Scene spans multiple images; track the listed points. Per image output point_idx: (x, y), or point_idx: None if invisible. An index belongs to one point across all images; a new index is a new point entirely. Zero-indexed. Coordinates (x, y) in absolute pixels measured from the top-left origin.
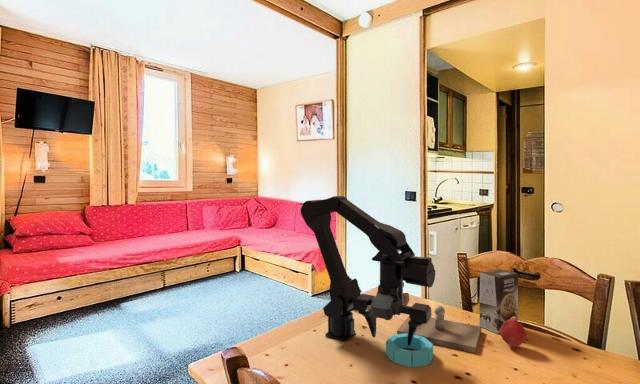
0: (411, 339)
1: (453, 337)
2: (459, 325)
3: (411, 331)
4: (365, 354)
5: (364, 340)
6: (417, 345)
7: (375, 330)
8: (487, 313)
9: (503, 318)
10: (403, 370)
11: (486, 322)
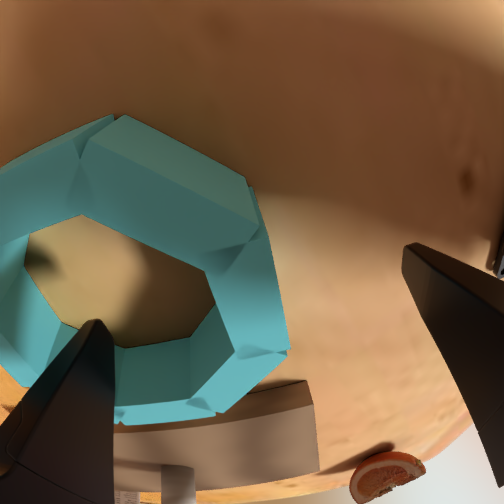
0: (53, 365)
1: None
2: (151, 486)
3: (14, 426)
4: (372, 73)
5: (443, 240)
6: (131, 368)
7: (425, 306)
8: None
9: None
10: (17, 88)
11: (116, 500)
